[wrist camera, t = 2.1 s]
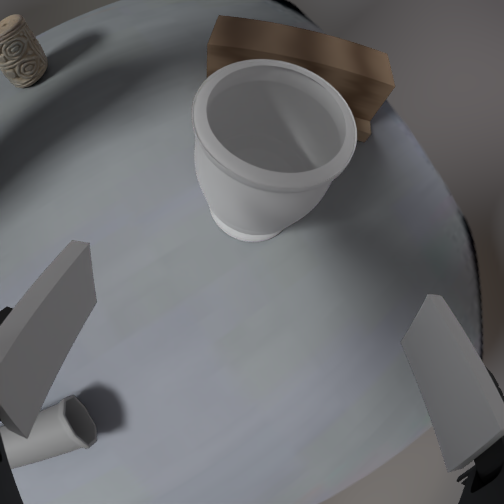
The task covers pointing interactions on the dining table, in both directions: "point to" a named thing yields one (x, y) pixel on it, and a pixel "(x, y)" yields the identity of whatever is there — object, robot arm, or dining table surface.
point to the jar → (268, 144)
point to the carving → (20, 52)
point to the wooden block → (308, 60)
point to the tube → (51, 434)
